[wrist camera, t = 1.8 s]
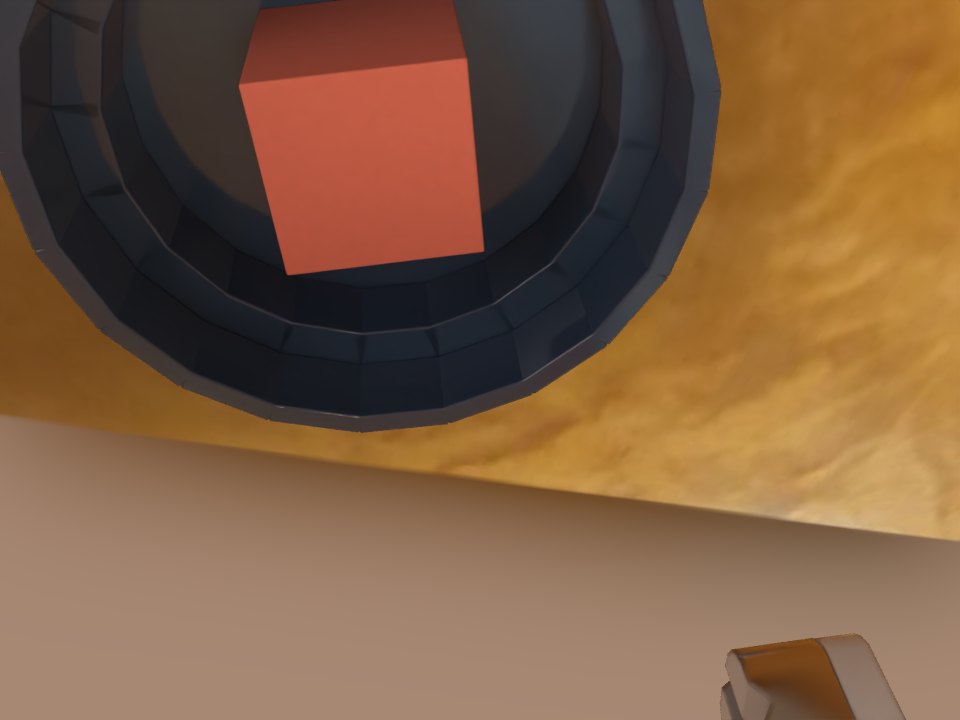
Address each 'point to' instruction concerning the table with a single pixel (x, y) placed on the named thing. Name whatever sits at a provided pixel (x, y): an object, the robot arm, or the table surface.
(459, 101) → the toy block
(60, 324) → the table surface
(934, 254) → the table surface
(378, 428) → the toy bowl
